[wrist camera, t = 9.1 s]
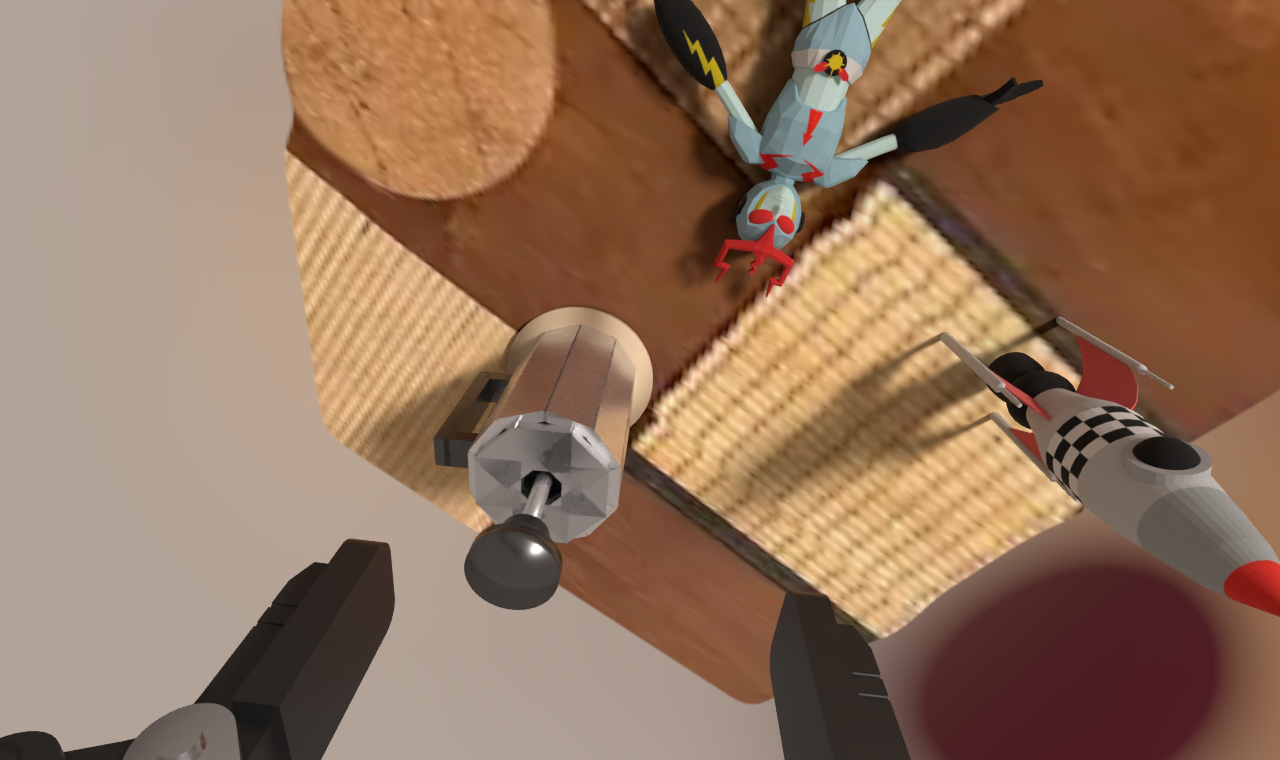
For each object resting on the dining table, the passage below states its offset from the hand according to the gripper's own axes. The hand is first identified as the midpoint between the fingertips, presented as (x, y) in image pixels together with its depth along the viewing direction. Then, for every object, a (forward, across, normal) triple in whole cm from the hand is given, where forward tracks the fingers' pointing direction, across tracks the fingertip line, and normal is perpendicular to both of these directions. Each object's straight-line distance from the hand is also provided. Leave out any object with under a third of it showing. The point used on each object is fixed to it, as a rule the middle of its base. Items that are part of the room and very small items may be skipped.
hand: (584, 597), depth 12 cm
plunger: (+31, +4, +13) cm, 34 cm away
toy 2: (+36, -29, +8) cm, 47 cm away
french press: (+35, +5, +13) cm, 38 cm away
